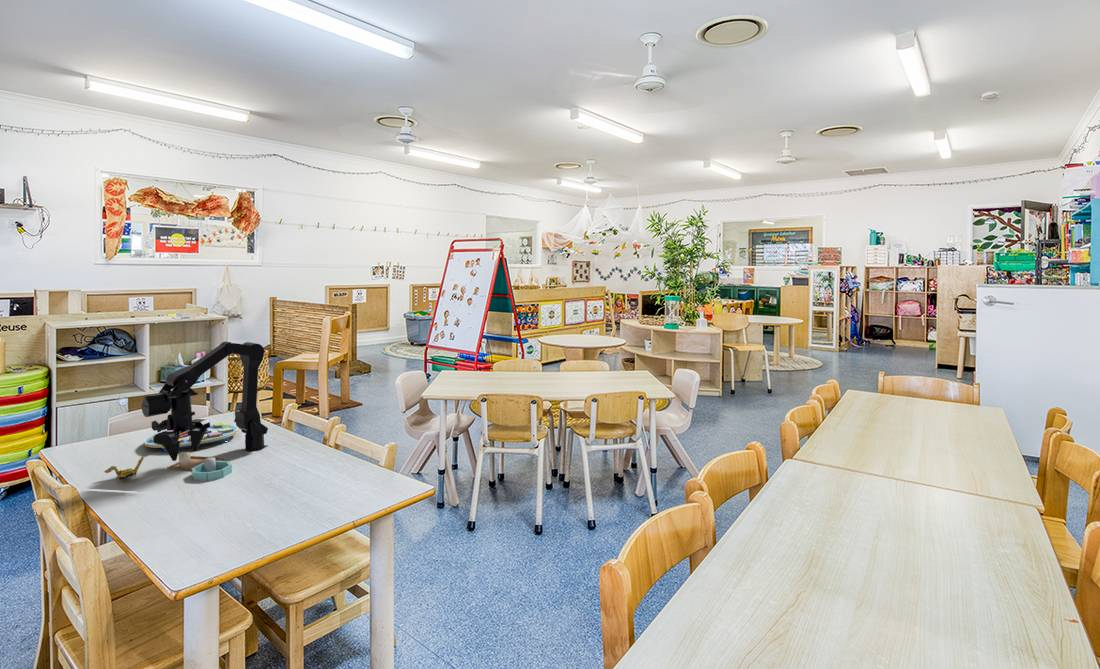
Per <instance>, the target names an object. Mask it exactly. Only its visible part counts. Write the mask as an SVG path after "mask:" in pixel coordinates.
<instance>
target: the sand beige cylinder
mask: <svg viewBox="0 0 1100 669" xmlns="http://www.w3.org/2000/svg"><path fill="white" fill-rule="evenodd" d="M190 456H191V453H190V451H182V452H180V453H179V452H178V462H179V467H183V468H187V467H190V466H191V461H190Z"/></svg>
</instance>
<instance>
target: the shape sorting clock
mask: <svg viewBox="0 0 1100 669" xmlns="http://www.w3.org/2000/svg"><path fill="white" fill-rule="evenodd" d="M207 429H208V430H207V431H206V433H205V434H204V436H203V438H202V440H201V442H200V444H199V446H206V445H209V444H210V445H211V444H216V443H219V442H224V443H226V442H225V441H229V442H230V437H231V436H234V435H236V434H238V432H239V428H238V427H237V426H236V424H227V423H226V424H225V423H222V422H217V423H214V424H210V427H209V428H207ZM164 431H168V430H167V429H166V430H164ZM169 432H173V430H171V431H169ZM158 433H159V432H156V433H153V435H151V436H149V437H146V438H145V439H144V440H143V445H144V446H145V447H147V448H155V449H156V448H157V449H158V448H159V449H163V452H164V453H165V452H167V450H166V448H165V447H164V446H162V445H158V444H157V443H154V441H153V437H154V436H155V435H156V434H158ZM178 441H180V445H179V450H181V449H189V448H192V445H191V438H190V435H189V434H188V432H186V433H184V434H181V435H179V440H178Z"/></svg>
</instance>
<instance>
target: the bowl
mask: <svg viewBox="0 0 1100 669" xmlns="http://www.w3.org/2000/svg"><path fill="white" fill-rule="evenodd" d="M232 473H233V466H232V463H231V462H230V461H227V460H226V461H225V460H222V461H216V471H212V472H205V468H204V463H202V464H200V465H198V466H196V467H194V468H192V471H191V477H192V479H193V480H194V481H203V482H209V481H213V480H218V479H223V478H225V477H227V476H229V475H230V474H232Z"/></svg>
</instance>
